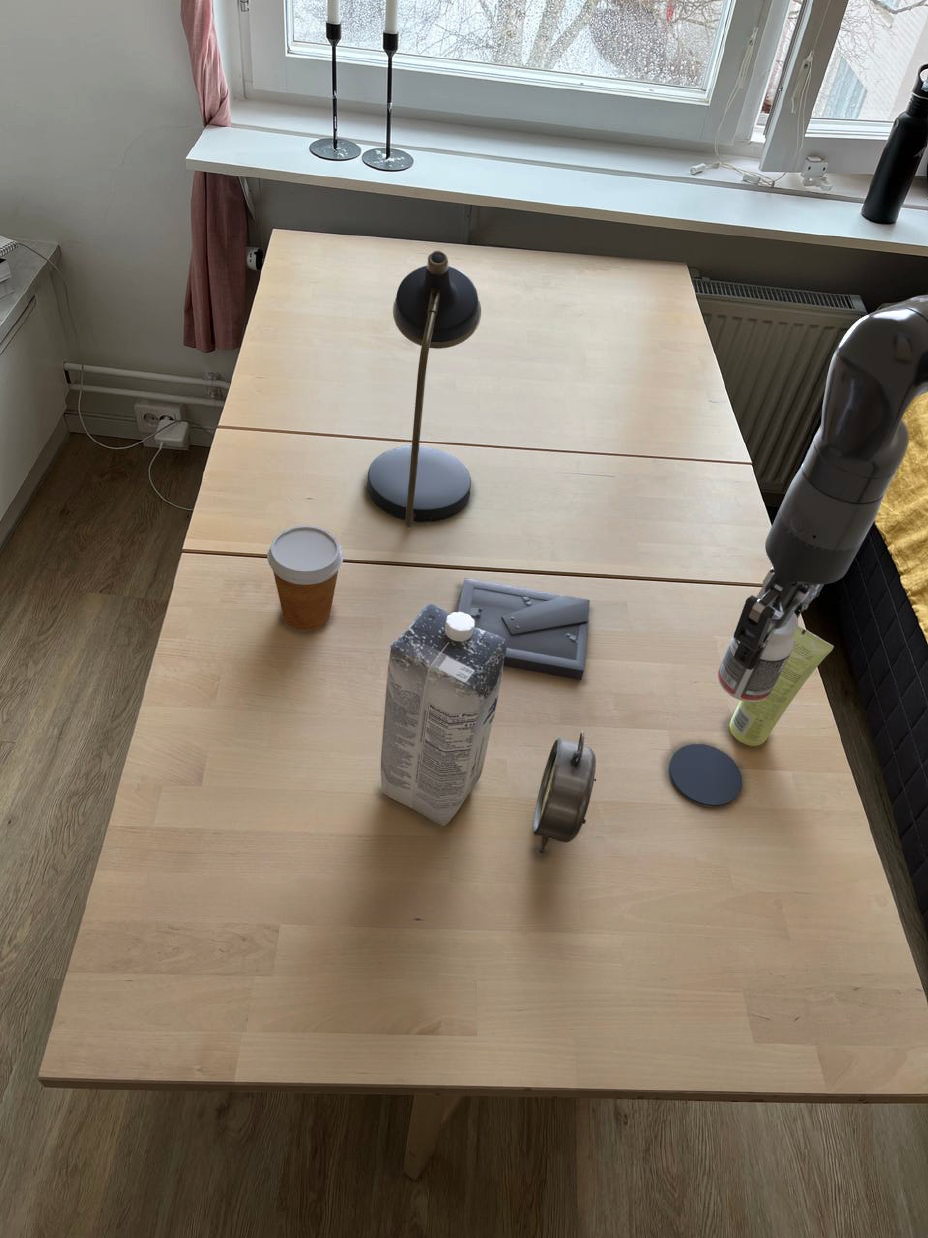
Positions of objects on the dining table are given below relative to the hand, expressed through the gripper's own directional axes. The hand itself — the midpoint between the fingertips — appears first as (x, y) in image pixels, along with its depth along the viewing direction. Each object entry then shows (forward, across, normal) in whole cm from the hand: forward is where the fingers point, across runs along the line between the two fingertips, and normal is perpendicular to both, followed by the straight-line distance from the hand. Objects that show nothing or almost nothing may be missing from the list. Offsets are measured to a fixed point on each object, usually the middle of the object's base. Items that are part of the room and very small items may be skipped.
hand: (761, 647), depth 96 cm
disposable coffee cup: (+27, -15, +53) cm, 61 cm away
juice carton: (+27, -22, +22) cm, 41 cm away
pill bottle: (+6, 0, 0) cm, 6 cm away
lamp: (+27, +14, +62) cm, 69 cm away
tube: (+28, +15, 0) cm, 31 cm away
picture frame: (+27, +5, +32) cm, 42 cm away
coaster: (+27, +5, 0) cm, 28 cm away
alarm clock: (+27, -14, +9) cm, 32 cm away
